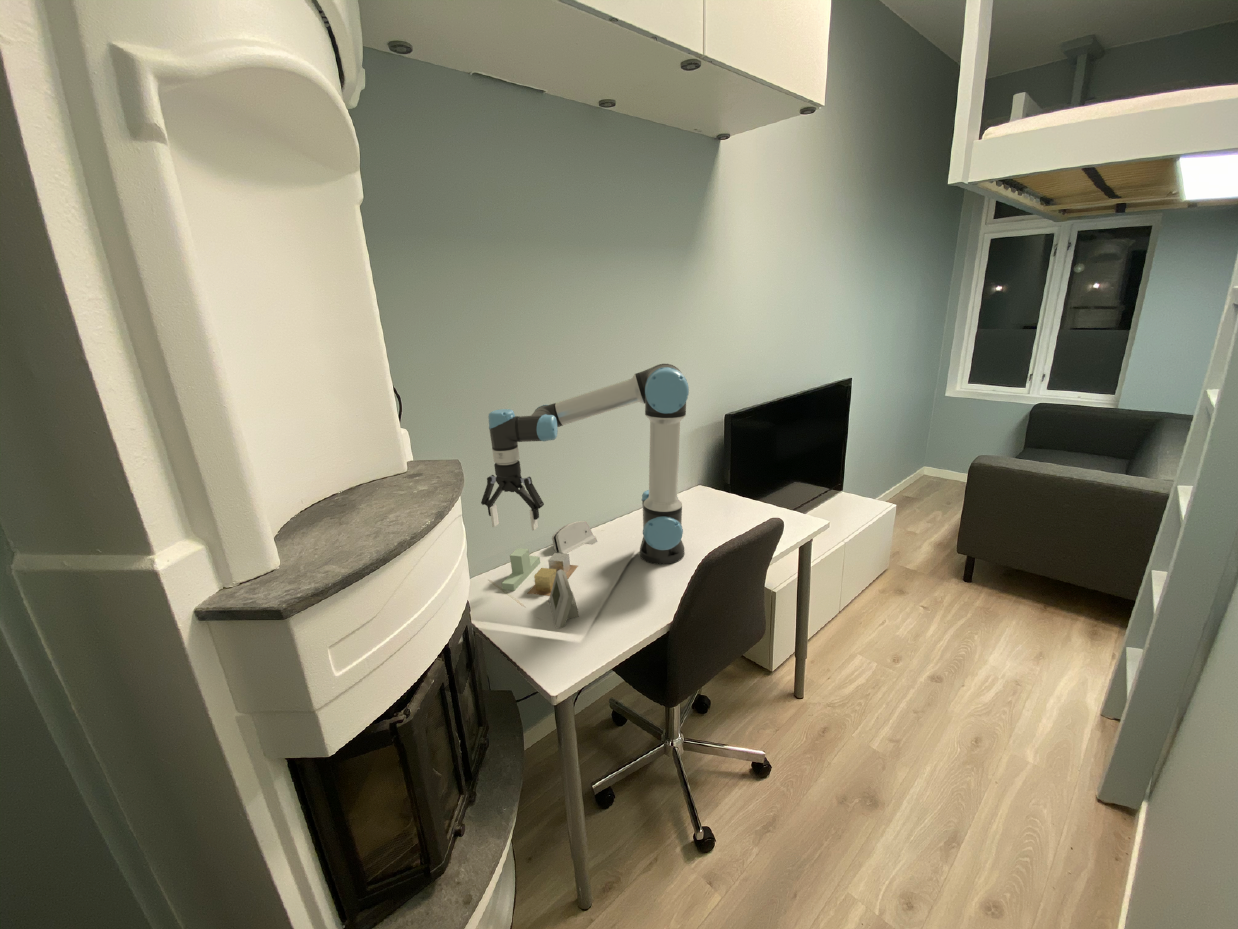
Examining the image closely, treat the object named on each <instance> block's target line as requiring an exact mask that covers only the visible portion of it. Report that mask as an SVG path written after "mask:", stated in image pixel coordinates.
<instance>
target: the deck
mask: <svg viewBox="0 0 1238 929" xmlns="http://www.w3.org/2000/svg"><path fill="white" fill-rule="evenodd" d="M578 567H579V565H576V564H570V569H569V570H568V572H567V573H566V576H567V579H568V580H569V578H570V577H571V576H572V575H573V573H574V572H575V571H576V569H577V568H578ZM526 593H527V594H528V595H536V596H537V595H538V596H545V597H550V594H551V592H545V591H536V586H535V584H533V586H532V587H531V588H530V589H529V590H528V592H526Z"/></svg>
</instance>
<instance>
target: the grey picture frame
mask: <svg viewBox="0 0 1238 929" xmlns="http://www.w3.org/2000/svg"><path fill="white" fill-rule="evenodd" d="M548 602H549V605H550V609H551V614H552V620H553V623H554V624H553V625H554V627H555V628H556V629H562V628H564V627H566V625H567V620H568V619H575V618H578V617H579V608H578V605H577V601H576V599H575V596H574V593H573V591H572V589H571V586H570V583H569V579H567V576H566V573H565V572H564V571H563V570H561V569H560V570H558V571H557V573H556V576H555V580H554V583H553V587H552V590H551V594H550V596H549V598H548Z"/></svg>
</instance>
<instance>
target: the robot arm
mask: <svg viewBox="0 0 1238 929" xmlns="http://www.w3.org/2000/svg"><path fill="white" fill-rule="evenodd" d="M689 388H690V387H689V382H688V381H687V378H686V377H685V375H684V374H683V373H682V371H681V370H680V369H679V368H678V367H676V366H675V365H673V364H670V363H661V364H660V363H659V364H656V365H654V366H652V367H650V368H647V369H644V370H643V371H640V372H637V373H634V374H633V375H632V376H631V378H629V379H626V380H623V381H619V382H616V383H613V384H610V385H606V386H604V387H601V388H597V389H594V390H592V391H588V392H584V393H581V394H579V395H576V396H572V397H569V398H565V399H563V400H560V401H557V402H553V403H550V404H543V405H539V406H538V407H537V408H536V409H535V410H534V411H533V413H532V414H531V415H524V416H523V415H518V416H517V415H516V414H515V412H514V410H513V409H510V408H509V409H507V408H501V409H495V410H492V411H490V412H489V413H488V417H487V418H488V429H489V435H490V442H491V443H490V444H491V450H492V456H493V462H494V464H493V466H494V471H495V472H494V473H495V475H494V474H491V475H490V476H487V477H486V487H485V490H484V493H483V495H482V499H481V501H480V504H481V505H482V506H484V505H485V506H486V507H487V510H488V511H487V512H488V516H489V517H490V518H491V526H492V528H496V527H497V526H498V525H499V524H500V521H499V514H498V506H497V504H495V503H496V501H497V499H498V498H499V497H500V495H501V494H502V493H503V491H504V493H506V492H510V493H515V494H516V495H519V497H521V499H522V500H523V501H524V502H525V503H526V504H527V505H528V506H529V508H530V510H529V516H530V526H531V531H535V530H536V529H538V528H539V524H538V523H539V522H538V519H540V510H539V509H541V508H542V507H543V506H544V505H545V503H544V501H543V499H542V498H541V496H540V495H539V492H538V491H537V489H536V487H535V485H534V484H533V481H532V477H531V476H527V477H522V470H521V461H520V452H519V444H518V443H526V442H548V441H554V440H556V439H557V437H558V429H559V427H563V426H566V425H570V424H572V423H575V422H578V421H582V420H584V419H588V418H591V417H595V416H598V415H601V414H605V413H607V412H611V411H614V410H617V409H620V408H625V407H627V406H631V405H633V404H637V403H641V405H644V415H645V417H646V418H648V420H649V422H650V424H649V461H648V462H649V465H648V466H649V467H648V468H649V470H648V472H649V474H648V478H649V479H648V489H647V490H645V491H643V492H642V493H641V494H642V495H641V501H642V502H641V504H642V521H643V522H642V526H643V528H642V540H641V542H640V547H639V557H640V558H641V559H642V560H643V561H644V562H647V563H650V564H652V565H653V564H654V565H669V564H674V563H676V562H679V561H681V560H682V559H683V558H684V556H685V554H686V553H685V546H684V543H683V540H682V538H683V534H684V528H683V526H682V520H683V519H682V517H683V514H682V513H683V502H682V501H681V500H680V499H679V497H678V491H679V490H678V489H679V488H678V486H679V466H680V465H679V463H680V462H679V459H680V458H679V457H680V439H681V438H680V436H681V435H680V431H681V421H682V420H683V419H684V418H685V417H686V416H687V414H686V413H687V400H688V398H689V397H688V396H689V394H690V392H689V391H690V390H689ZM495 483H497V485H498V486H497V488H496V490H495V491H494V493H493V494H492V492H493V490H494V487H495ZM491 495H492V496H491Z"/></svg>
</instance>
